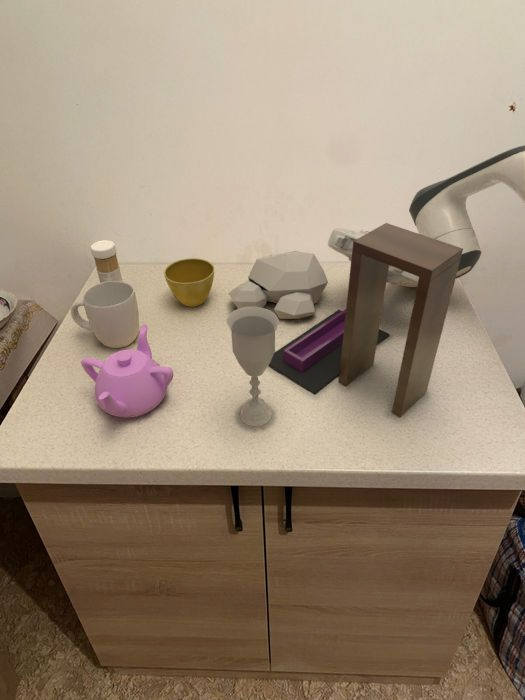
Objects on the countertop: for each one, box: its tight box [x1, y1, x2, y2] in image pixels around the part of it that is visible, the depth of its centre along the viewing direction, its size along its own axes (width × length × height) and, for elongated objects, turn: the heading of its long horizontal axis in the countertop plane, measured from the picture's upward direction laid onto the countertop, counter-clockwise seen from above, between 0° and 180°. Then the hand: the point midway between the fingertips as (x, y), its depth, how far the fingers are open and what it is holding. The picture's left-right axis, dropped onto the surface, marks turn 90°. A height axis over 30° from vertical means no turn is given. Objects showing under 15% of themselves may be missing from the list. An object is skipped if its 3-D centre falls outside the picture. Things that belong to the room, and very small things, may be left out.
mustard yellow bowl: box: [163, 257, 215, 308], centre depth 103 cm, size 10×10×7 cm
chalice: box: [226, 307, 280, 427], centre depth 74 cm, size 7×7×18 cm
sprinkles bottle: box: [90, 239, 124, 283], centre depth 101 cm, size 5×5×14 cm
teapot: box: [80, 323, 174, 419], centre depth 80 cm, size 12×14×9 cm
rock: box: [228, 250, 329, 320], centre depth 102 cm, size 18×20×10 cm
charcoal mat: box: [268, 309, 391, 395], centre depth 92 cm, size 22×12×1 cm, turn 136°
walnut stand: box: [338, 222, 463, 418], centre depth 76 cm, size 8×12×26 cm, turn 46°
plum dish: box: [284, 308, 346, 373], centre depth 93 cm, size 22×4×3 cm, turn 135°
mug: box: [70, 281, 140, 349], centre depth 93 cm, size 13×9×10 cm
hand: (360, 249), depth 86 cm, fingers open, 8 cm apart
